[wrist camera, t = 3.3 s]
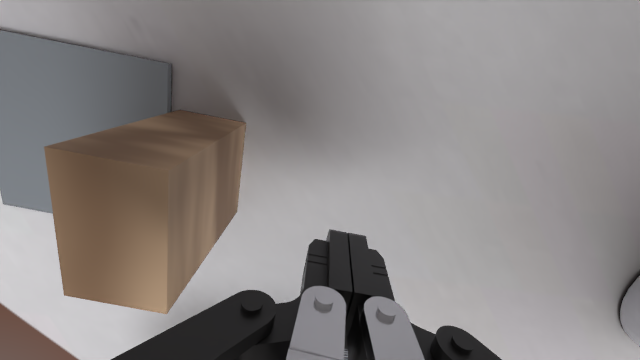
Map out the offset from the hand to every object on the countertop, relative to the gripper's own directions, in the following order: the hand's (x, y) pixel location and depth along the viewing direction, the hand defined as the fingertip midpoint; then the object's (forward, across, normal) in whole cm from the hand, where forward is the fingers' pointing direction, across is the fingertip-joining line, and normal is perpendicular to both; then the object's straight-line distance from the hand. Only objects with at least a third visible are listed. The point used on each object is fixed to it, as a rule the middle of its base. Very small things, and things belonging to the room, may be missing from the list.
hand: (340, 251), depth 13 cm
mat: (+7, +16, 0) cm, 18 cm away
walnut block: (+7, +8, 0) cm, 11 cm away
